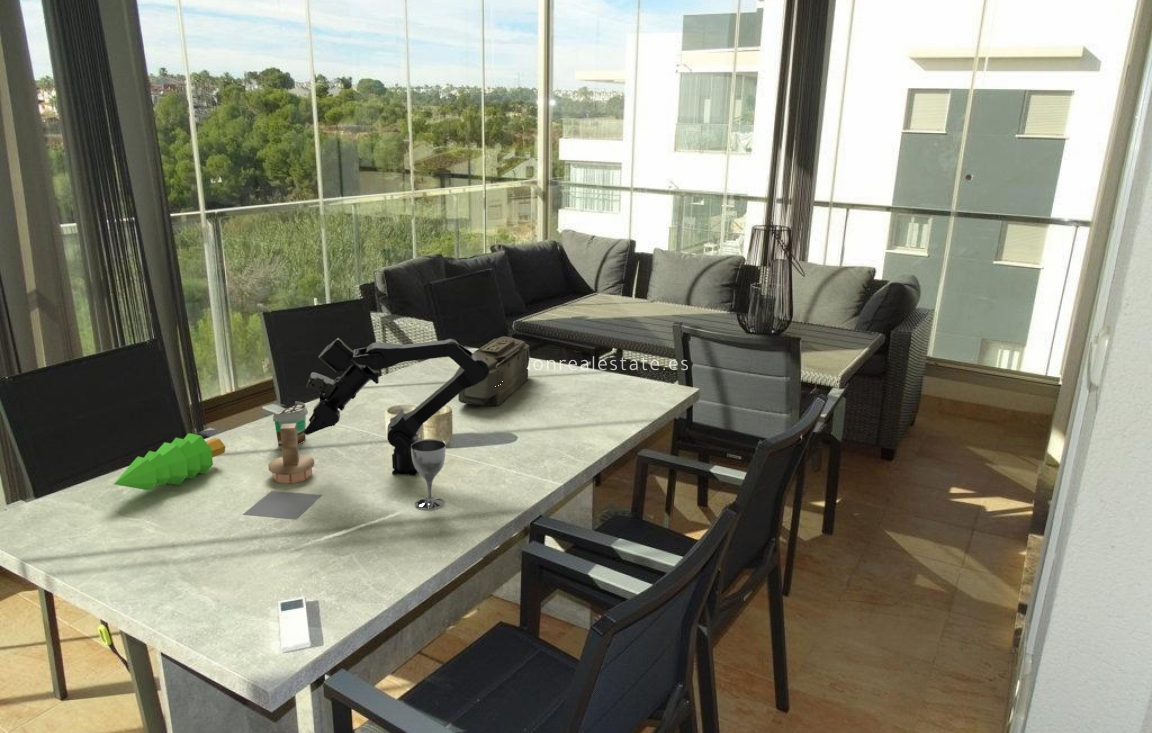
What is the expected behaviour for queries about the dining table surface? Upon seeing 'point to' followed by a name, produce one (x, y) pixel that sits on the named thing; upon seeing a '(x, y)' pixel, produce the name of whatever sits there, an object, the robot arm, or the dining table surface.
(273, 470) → the walnut lid
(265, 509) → the rubber mat
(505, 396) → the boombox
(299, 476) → the terracotta bowl
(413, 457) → the wine glass
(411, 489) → the dining table surface
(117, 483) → the decorative tree
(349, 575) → the dining table surface
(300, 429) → the food container
